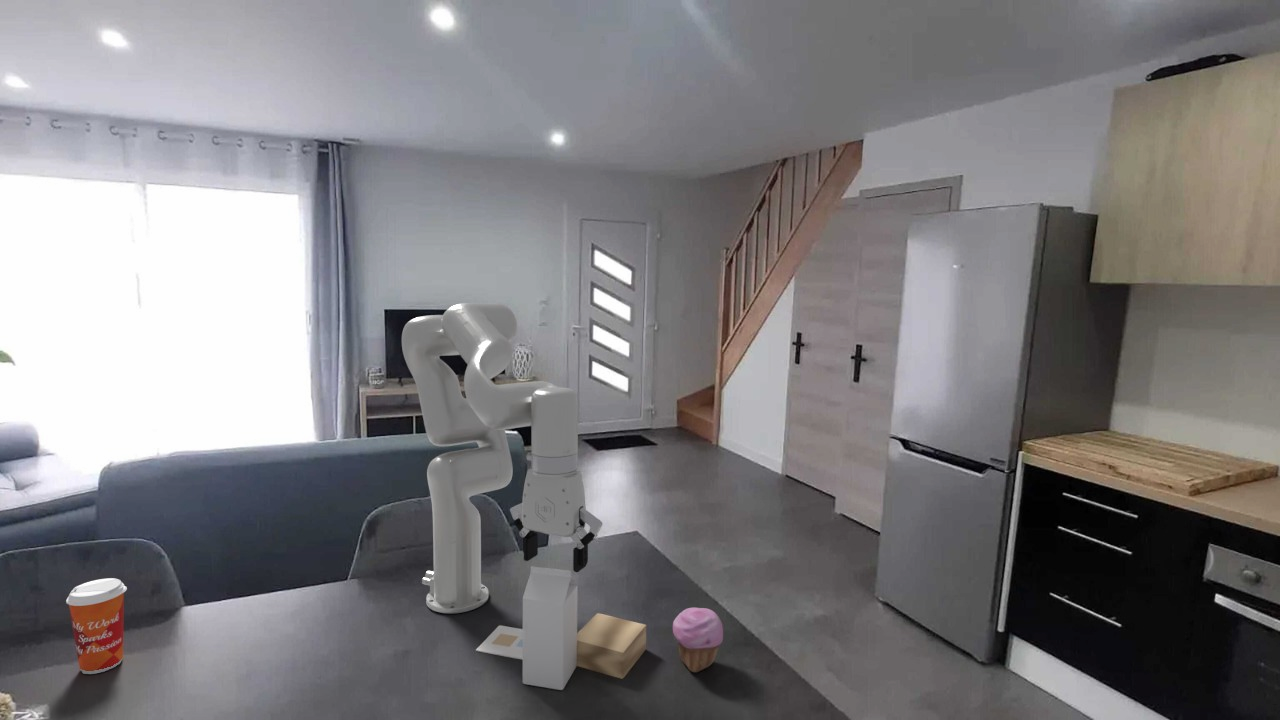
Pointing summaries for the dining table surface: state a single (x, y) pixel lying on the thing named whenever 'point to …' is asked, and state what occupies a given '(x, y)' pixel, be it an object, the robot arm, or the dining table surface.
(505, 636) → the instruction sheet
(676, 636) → the cupcake
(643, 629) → the oak brick
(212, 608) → the dining table surface
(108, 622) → the paper cup
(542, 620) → the milk carton
